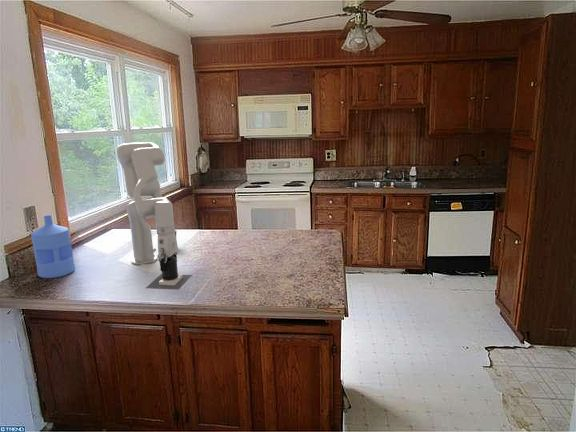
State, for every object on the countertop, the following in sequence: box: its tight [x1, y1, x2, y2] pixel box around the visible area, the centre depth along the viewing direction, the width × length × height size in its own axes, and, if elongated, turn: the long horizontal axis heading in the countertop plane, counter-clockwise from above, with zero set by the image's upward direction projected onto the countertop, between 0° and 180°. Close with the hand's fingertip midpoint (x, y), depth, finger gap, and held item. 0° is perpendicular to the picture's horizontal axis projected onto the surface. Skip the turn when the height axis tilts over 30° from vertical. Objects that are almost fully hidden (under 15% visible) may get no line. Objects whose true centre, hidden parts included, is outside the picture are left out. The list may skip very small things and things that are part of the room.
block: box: [159, 273, 184, 286], centre depth 175 cm, size 9×2×7 cm
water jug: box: [30, 215, 76, 279], centre depth 187 cm, size 16×16×28 cm
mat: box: [145, 273, 193, 290], centre depth 176 cm, size 16×15×1 cm
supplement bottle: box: [161, 254, 179, 280], centre depth 174 cm, size 7×7×12 cm
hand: (169, 266), depth 174 cm, fingers open, 9 cm apart
